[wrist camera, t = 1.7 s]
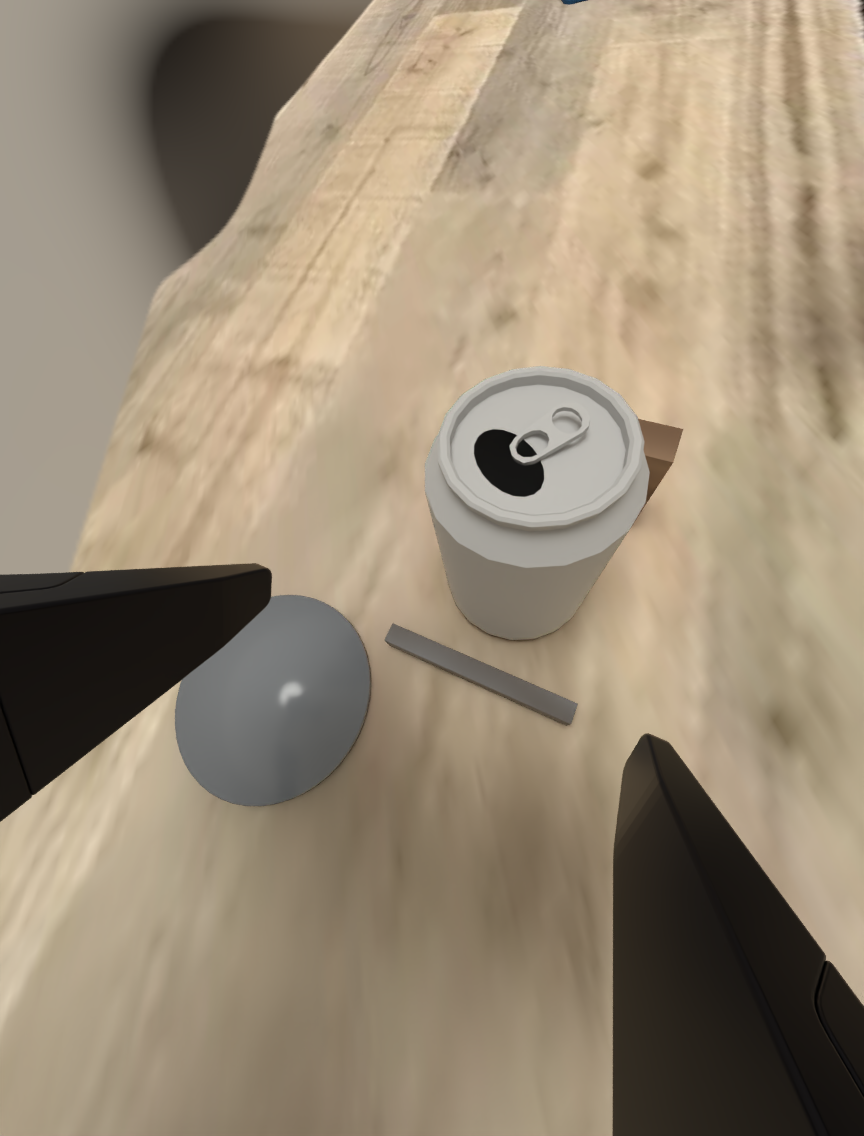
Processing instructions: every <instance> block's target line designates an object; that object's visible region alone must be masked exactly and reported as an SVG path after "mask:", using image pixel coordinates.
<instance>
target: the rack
mask: <svg viewBox="0 0 864 1136" xmlns="http://www.w3.org/2000/svg"><path fill="white" fill-rule="evenodd" d="M638 421H639V424H640V428H641V431H642V435H643V438H644V449H643V450H644V454H645V457H646V461H647V465H648V468H649V472H650V474H649V481H648V489H647V496H646V503H647V502H648V500H649V499H650V497H651V496H652V494H653V493H654V491H655V489H656V488H657V486H658V485H659V483H660V482H661V480H662V479H663V477H664V476H665V474H666V473H667V471H668V470H669V468H670V466H671V465H672V463H673V461H674V458H675V455H676V451H677V448H678V445H679V441H680V438H681V435H682V431H683V429H680V428H676V427H671V426H667V425H662V424H658V423H654V422H649V421H645V420H641V419H638ZM646 503H645V504H644V506H645V505H646ZM644 506H643V508H644ZM643 508H642V509H643ZM642 509H641V511H642ZM641 511H640V512H641ZM639 514H640V513H639ZM639 514H638V516H639ZM638 516H637V517H638ZM636 519H637V518H636ZM636 519H635V520H636ZM634 522H635V521H634ZM632 525H633V524H632ZM385 641H386V642H387V643H388V644H389V645H390V646H392V647H394V648H397V649H399V650H401V651H403V652H406V653H408V654H410V655H412V656H414V657H417V658H419V659H421V660H423V661H425V662H428V663H430V664H432V665H434V666H436V667H439V668H441V669H443V670H445V671H447V672H450V673H452V674H454V675H456V676H458V677H461V678H463V679H465V680H467V681H470V682H472V683H474V684H476V685H478V686H481V687H483V688H485V689H487V690H489V691H492V692H494V693H496V694H498V695H500V696H503V697H505V698H507V699H509V700H511V701H514V702H516V703H518V704H520V705H523V706H525V707H527V708H529V709H531V710H534V711H536V712H538V713H540V714H542V715H545V716H547V717H549V718H551V719H553V720H556V721H558V722H560V723H562V724H564V725H571V723H572V720H573V717H574V714H575V711H576V708H577V703H575V702H573V701H570V700H568V699H566V698H563V697H561V696H559V695H557V694H554V693H552V692H550V691H547V690H545V689H543V688H540V687H538V686H536V685H534V684H531V683H529V682H527V681H524V680H522V679H520V678H517V677H515V676H513V675H510V674H508V673H506V672H504V671H501V670H499V669H497V668H494V667H492V666H490V665H487V664H485V663H483V662H481V661H478V660H476V659H474V658H471V657H469V656H467V655H464V654H462V653H460V652H458V651H455V650H453V649H451V648H448V647H446V646H444V645H441V644H439V643H437V642H435V641H432V640H430V639H428V638H425V637H423V636H421V635H418V634H416V633H414V632H412V631H409V630H407V629H405V628H402V627H400V626H398V625H395V624H392V626H391V628H390V630H389V632H388V634H387V636H386V638H385Z"/></svg>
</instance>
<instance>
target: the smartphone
mask: <svg viewBox="0 0 864 1136" xmlns="http://www.w3.org/2000/svg"><path fill="white" fill-rule="evenodd" d="M582 1H587V0H562V2H563V3H564V4H574V3H578V2H582Z"/></svg>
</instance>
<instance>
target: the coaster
mask: <svg viewBox="0 0 864 1136" xmlns="http://www.w3.org/2000/svg"><path fill="white" fill-rule="evenodd" d="M370 691H371V675H370V666H369V661H368V656H367V653H366V650H365V647H364V644H363V643H362V641H361V639H360V637H359V635H358V633H357V632H356V630H355V629H354V627H353V626H352V625H351V623H350V622H349V621H348V620H347V619H346V618H345V617H344V616H343V615H342V614H340V613H339V612H338V611H336V610H335V609H334V608H333V607H331V606H329V605H327V604H325V603H324V602H321V601H319V600H316V599H313V598H309V597H305V596H298V595H280V596H274V597H271V599H270V602H269V604H268V605H267V606H266V608H265V609H263V610H262V611H261V612H260V613H259V614H258V615H257V616H256V617H255V618H254V619H253V620H252V621H251V622H250V623H249V624H248V625H246V626H245V627H244V628H243V629H242V630H241V631H240V632H239V633H238V634H237V635H236V636H235V637H234V638H233V639H232V640H231V641H229V642H228V643H227V644H226V645H225V646H224V647H223V648H221V649H220V650H219V651H218V652H217V653H215V654H214V655H213V656H212V657H210V658H209V659H208V660H206V661H205V662H204V663H203V664H201V665H200V666H199V667H197V668H196V669H195V670H194V671H192V672H191V673H190V674H188V675H187V676H186V677H185V678H183V679H182V681H181V684H180V688H179V692H178V696H177V701H176V709H175V729H176V738H177V742H178V746H179V750H180V753H181V756H182V758H183V760H184V763H185V765H186V766H187V768H188V770H189V771H190V773H191V775H192V776H193V777H194V778H195V779H196V780H197V782H198V783H199V784H200V785H201V786H202V787H204V788H205V789H206V790H207V791H208V792H210V793H211V794H213V795H215V796H216V797H218V798H220V799H222V800H225V801H227V802H230V803H233V804H238V805H244V806H265V805H271V804H276V803H280V802H283V801H286V800H290V799H293V798H295V797H297V796H299V795H301V794H304V793H306V792H307V791H309V790H310V789H312V788H314V787H315V786H317V785H318V784H319V783H321V782H322V781H323V780H324V779H325V778H327V777H328V776H329V775H330V774H331V773H332V772H333V771H334V770H335V769H336V768H337V767H338V766H339V765H340V764H341V762H342V761H343V760H344V758H345V757H346V756H347V754H348V753H349V752H350V750H351V748H352V746H353V745H354V743H355V741H356V740H357V738H358V735H359V733H360V731H361V729H362V726H363V724H364V721H365V717H366V714H367V711H368V705H369V700H370Z"/></svg>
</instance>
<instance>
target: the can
mask: <svg viewBox="0 0 864 1136" xmlns="http://www.w3.org/2000/svg"><path fill="white" fill-rule="evenodd" d="M643 449H644V438H643V435H642V431H641V428H640V424H639V421H638V417H637V415H636V414H635V413H634V412H633V410H632V409H631V408H630V406H629V405H628V404H627V402H626V401H625V400H624V399H623V397H622V396H621V395H620V394H618V393H617V392H616V391H614V390H613V389H611V388H610V387H608V386H607V385H605V384H604V383H602V382H601V381H600V380H598V379H596V378H593V377H590V376H588V375H585V374H582V373H579V372H576V371H573V370H571V369H563V368H554V367H544V366H537V367H529V368H520V369H512V370H509V371H506V372H504V373H501V374H498V375H495V376H493V377H490V378H487V379H484V380H483V381H481V382H480V383H478V384H477V385H475V386H474V387H472V388H471V389H469V390H468V391H466V392H465V393H463V394H462V395H461V396H460V398H459V399H458V400H457V401H456V402H455V404H454V405H453V406H452V407H451V408H450V410H449V411H448V412H447V413H446V415H445V418H444V420H443V423H442V426H441V428H440V431H439V434H438V435H437V436H436V437H435V439H434V441H433V444H432V447H431V449H430V452H429V455H428V457H427V460H426V463H425V493H426V497H427V501H428V505H429V509H430V513H431V517H432V521H433V524H434V528H435V532H436V536H437V540H438V544H439V548H440V552H441V556H442V560H443V564H444V568H445V572H446V576H447V579H448V583H449V587H450V590H451V593H452V595H453V598H454V600H455V603H456V605H457V607H458V608H459V609H460V611H461V612H462V613H463V614H464V615H465V617H466V618H467V619H468V620H469V621H470V622H471V623H472V624H474V625H475V626H477V627H479V628H480V629H482V630H483V631H485V632H486V633H488V634H490V635H494V636H498V637H502V638H505V639H509V640H522V639H535V638H538V637H541V636H544V635H546V634H549V633H552V632H554V631H556V630H557V629H559V628H560V627H561V626H562V625H563V624H565V623H566V622H567V621H568V620H570V619H571V618H572V617H573V615H574V614H575V612H576V611H577V609H578V608H579V606H580V605H581V603H582V602H583V600H584V599H585V597H586V596H587V594H588V592H589V591H590V589H591V588H592V586H593V585H594V583H595V582H596V580H597V579H598V577H599V576H600V574H601V573H602V571H603V569H604V568H605V566H606V565H607V563H608V562H609V560H610V559H611V557H612V556H613V554H614V553H615V551H616V550H617V548H618V546H619V545H620V543H621V542H622V540H623V539H624V537H625V536H626V534H627V533H628V531H629V530H630V528H631V526H632V524H633V523H634V521H635V519H636V518H637V516H638V514H639V513H640V511H641V509H642V508H643V506H644V504H645V503H646V496H647V489H648V481H649V474H650V472H649V468H648V465H647V461H646V457H645V454H644V450H643Z"/></svg>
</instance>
